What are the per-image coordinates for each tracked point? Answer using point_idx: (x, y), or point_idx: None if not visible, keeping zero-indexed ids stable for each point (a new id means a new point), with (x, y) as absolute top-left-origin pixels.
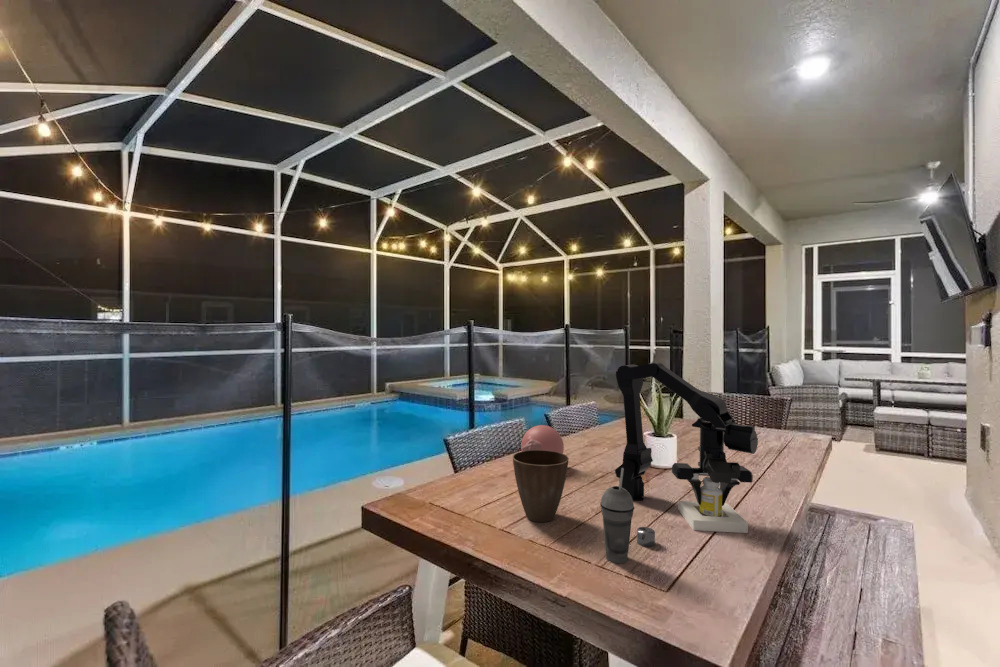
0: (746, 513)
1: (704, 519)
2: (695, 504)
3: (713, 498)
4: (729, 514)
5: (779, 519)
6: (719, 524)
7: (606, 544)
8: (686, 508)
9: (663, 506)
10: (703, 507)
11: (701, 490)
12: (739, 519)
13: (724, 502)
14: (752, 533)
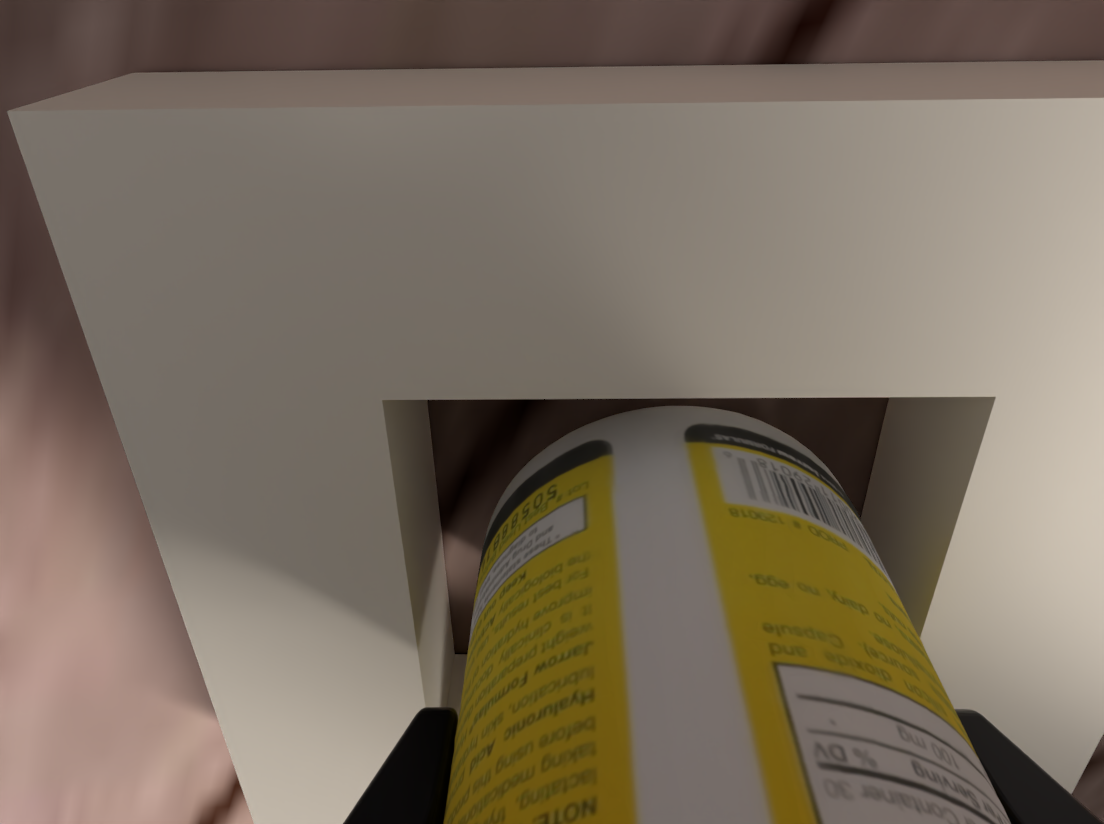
0: (62, 750)
1: (1083, 185)
2: None
3: (817, 805)
4: (348, 524)
5: None
6: (724, 90)
7: None
8: (1089, 675)
9: (1099, 818)
10: (910, 623)
11: None
12: (187, 300)
13: (389, 770)
14: (43, 71)
